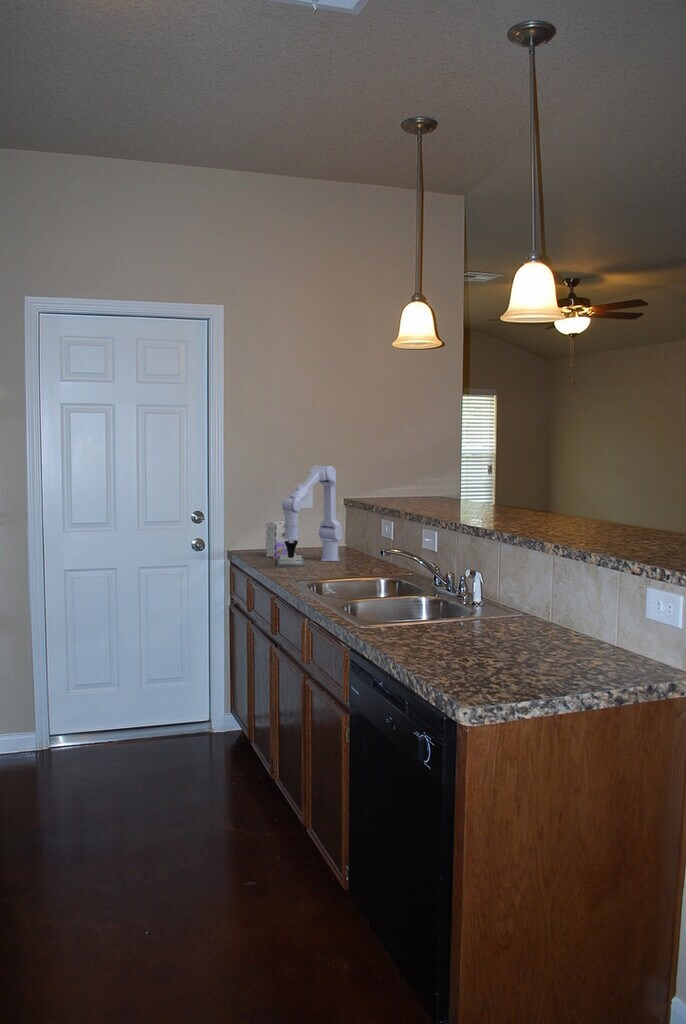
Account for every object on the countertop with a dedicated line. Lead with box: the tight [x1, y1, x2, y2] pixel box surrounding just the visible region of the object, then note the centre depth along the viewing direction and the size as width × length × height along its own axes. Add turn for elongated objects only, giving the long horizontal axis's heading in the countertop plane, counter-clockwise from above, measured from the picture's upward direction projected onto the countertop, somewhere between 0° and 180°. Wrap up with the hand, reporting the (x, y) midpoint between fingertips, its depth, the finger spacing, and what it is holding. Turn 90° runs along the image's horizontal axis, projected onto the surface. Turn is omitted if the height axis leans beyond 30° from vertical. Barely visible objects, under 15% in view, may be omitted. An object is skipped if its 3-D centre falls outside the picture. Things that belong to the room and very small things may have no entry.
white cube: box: [286, 552, 297, 561], centre depth 348 cm, size 4×4×4 cm
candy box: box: [265, 519, 289, 559], centre depth 373 cm, size 14×6×16 cm, turn 144°
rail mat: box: [276, 554, 306, 567], centre depth 353 cm, size 18×12×2 cm, turn 4°
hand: (290, 557), depth 342 cm, fingers closed
